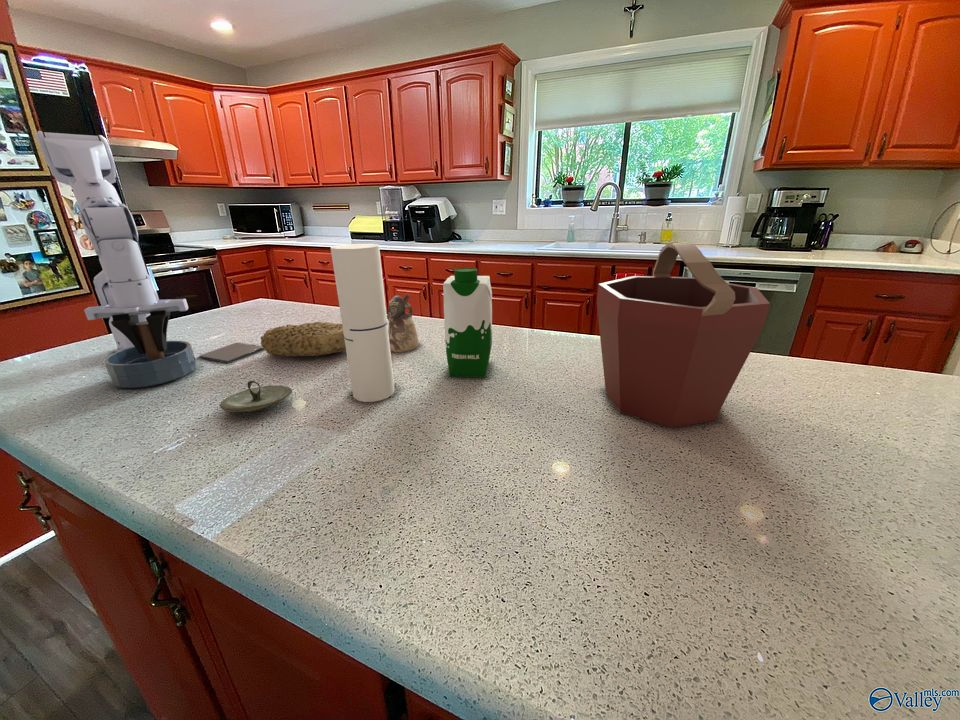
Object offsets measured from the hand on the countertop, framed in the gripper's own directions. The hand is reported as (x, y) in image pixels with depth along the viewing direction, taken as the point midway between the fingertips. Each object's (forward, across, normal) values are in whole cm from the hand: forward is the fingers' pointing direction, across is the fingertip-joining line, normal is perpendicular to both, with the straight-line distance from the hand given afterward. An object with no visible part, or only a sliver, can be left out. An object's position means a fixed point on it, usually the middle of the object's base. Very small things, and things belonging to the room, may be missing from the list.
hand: (153, 351), depth 75 cm
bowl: (+6, -1, +2) cm, 6 cm away
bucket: (+6, +79, -46) cm, 92 cm away
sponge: (+6, +28, +2) cm, 29 cm away
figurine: (+6, +47, -2) cm, 47 cm away
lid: (+6, +18, -21) cm, 29 cm away
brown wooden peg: (+3, 0, 0) cm, 3 cm away
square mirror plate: (+6, +11, +9) cm, 15 cm away
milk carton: (+6, +56, -22) cm, 60 cm away
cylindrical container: (+6, +37, -24) cm, 44 cm away
